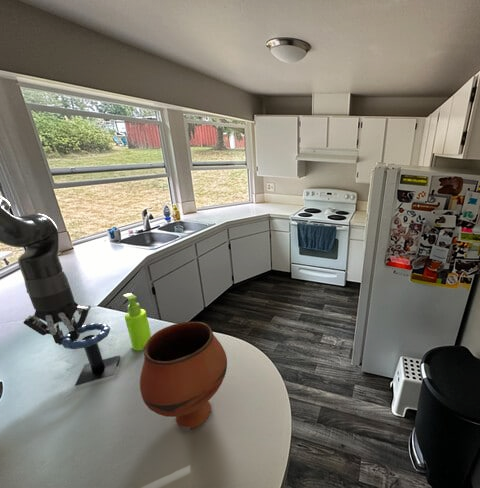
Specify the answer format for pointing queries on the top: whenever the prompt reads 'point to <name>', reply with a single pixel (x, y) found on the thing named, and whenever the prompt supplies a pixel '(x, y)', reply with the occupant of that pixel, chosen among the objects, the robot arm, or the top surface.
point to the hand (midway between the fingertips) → (68, 341)
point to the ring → (86, 343)
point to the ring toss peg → (96, 364)
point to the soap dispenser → (137, 323)
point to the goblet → (182, 372)
